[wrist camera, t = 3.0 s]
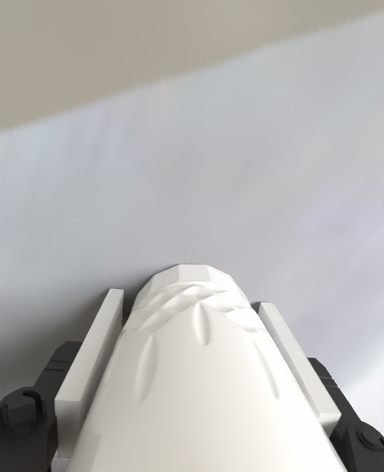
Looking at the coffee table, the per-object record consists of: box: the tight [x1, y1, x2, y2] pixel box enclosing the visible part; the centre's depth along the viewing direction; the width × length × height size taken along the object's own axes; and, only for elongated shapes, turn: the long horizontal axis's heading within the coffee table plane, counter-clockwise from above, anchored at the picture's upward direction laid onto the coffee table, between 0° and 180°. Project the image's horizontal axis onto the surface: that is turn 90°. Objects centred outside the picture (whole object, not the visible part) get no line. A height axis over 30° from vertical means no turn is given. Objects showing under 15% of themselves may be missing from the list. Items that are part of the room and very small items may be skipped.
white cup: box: [65, 264, 348, 472], centre depth 10 cm, size 8×8×10 cm
